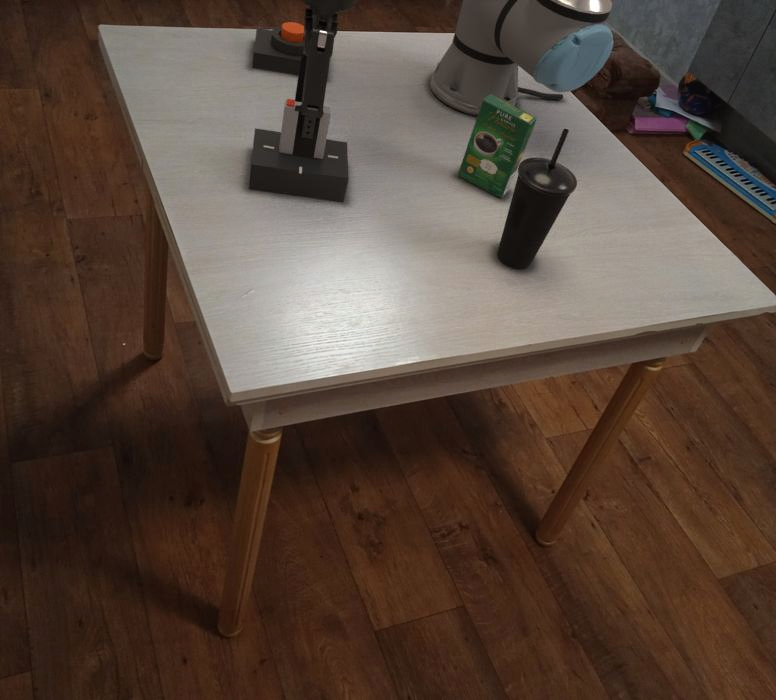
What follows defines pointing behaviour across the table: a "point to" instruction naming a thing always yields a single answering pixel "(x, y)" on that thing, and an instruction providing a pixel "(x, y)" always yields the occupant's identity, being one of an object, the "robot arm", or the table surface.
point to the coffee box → (496, 145)
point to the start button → (292, 32)
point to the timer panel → (298, 169)
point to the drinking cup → (534, 207)
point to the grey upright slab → (291, 124)
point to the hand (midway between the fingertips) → (303, 127)
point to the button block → (276, 52)
